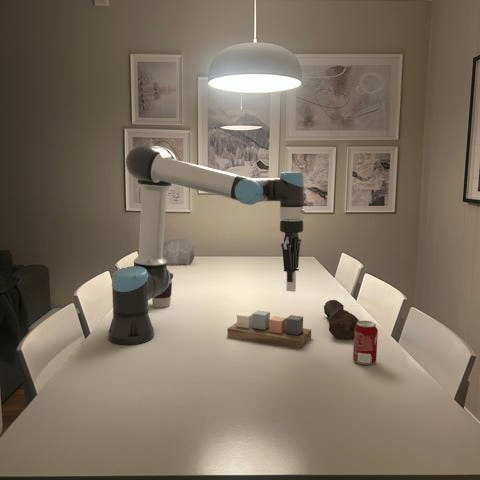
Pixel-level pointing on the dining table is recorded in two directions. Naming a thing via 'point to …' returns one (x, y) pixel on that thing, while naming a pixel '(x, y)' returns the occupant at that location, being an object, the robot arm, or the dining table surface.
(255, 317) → the light grey block
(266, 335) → the wooden block tray
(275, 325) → the key terracotta
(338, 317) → the dark brown bone
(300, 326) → the dark gray block
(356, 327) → the soda can
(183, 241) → the decorative stone
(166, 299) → the coffee cup
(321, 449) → the dining table surface
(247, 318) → the key ivory
